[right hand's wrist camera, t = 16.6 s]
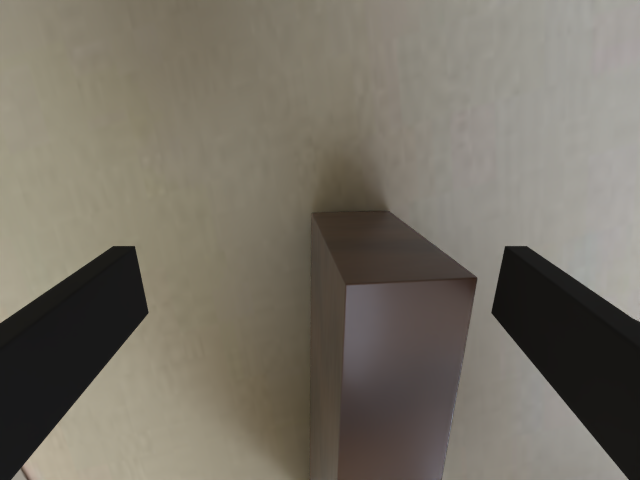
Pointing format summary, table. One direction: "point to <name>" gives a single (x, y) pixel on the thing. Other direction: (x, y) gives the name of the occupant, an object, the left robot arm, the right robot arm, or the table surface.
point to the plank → (383, 348)
